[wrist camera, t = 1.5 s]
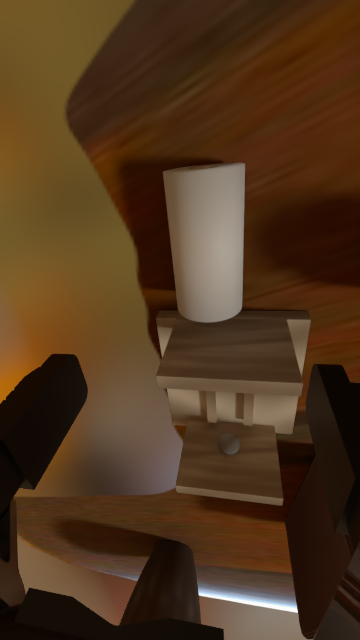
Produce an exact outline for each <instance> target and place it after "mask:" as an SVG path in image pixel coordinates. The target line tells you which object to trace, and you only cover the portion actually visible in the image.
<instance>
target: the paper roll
mask: <svg viewBox="0 0 360 640" xmlns="http://www.w3.org/2000/svg"><path fill="white" fill-rule="evenodd" d="M163 178H164V187H165V196H166V206H167V215H168V224H169V233H170V242H171V251H172V260H173V269H174V278H175V287H176V296H177V305H178V311H179V313H180V314H181V315H182V316H183V317H185V318H187V319H189V320H192V321H196V322H207V323H208V322H219V321H223V320H227V319H229V318H232V317H234V316H235V315H237V314H238V313H239V312H240V311H241V309H242V289H243V241H244V193H245V164H244V163H218V164H207V165H196V166H188V167H181V168H175V169H170V170H166V171H163Z"/></svg>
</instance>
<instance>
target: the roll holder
mask: <svg viewBox="0 0 360 640" xmlns="http://www.w3.org/2000/svg"><path fill="white" fill-rule="evenodd" d="M156 322H157V329H158V335H159V341H160V348H161V354H162V360H161V363H160V366H159V369H158V372H157V375H156V378H157V384H158V388H164V389H167V392H168V398H169V404H170V411H171V417H172V424H173V425H186V432H185V437H184V443H183V448H182V454H181V459H180V465H179V470H178V476H177V481H176V490H177V492H179V493H187V494H194V495H202V496H210V497H218V498H226V499H233V500H241V501H249V502H257V503H265V504H273V505H280V506H282V504H283V491H282V483H281V475H280V466H279V458H278V450H277V442H276V433H283V434H292V432H293V425H294V419H295V413H296V407H297V401H298V396H301V393H302V387H303V381H302V371H303V365H304V359H305V353H306V346H307V340H308V334H309V328H310V322H311V319H310V316H309V314H308V311H240V312H239V313H238V314H237V315H235V316H234V317H232V318H229V319H227V320H223V321H219V322H208V323H207V322H196V321H192V320H189V319H187V318H185V317H183V316H182V315H181V314H180V313H179V311H178V310H159V312H158V314H157V317H156Z"/></svg>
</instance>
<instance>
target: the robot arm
mask: <svg viewBox="0 0 360 640" xmlns="http://www.w3.org/2000/svg"><path fill="white" fill-rule="evenodd" d="M87 393H88V389H87V384H86V381H85V378H84V375H83V372H82V369H81V367H80V364H79V361H78V359H77V357H76V356H75V355H73V354H52V355H51V356H50V357H49V358H48V359H47V360H46V361H45V362H44V363H43V365H42V366H41V367H38V368H37V369H35V370H34V371H32V372H31V373H29V374H28V375H27V376H25V377H24V378H23V379H22V380H21V381H20V382H19V384H18V385H17V386H16V387H15V389H14V391H12V392H11V393H10V394H9V395H8V396H7V397H6V400H3V401H2V403H1V404H0V640H224V632H223V629H221V628H216V627H212V626H207V625H202V624H197V623H193V622H188V621H183V620H179V619H174V618H166V619H160V620H153V621H147V622H141V623H134V624H128V625H122V626H115V625H112V624H110V623H109V622H107V621H106V620H105V619H103V618H102V617H100V616H99V615H97V614H96V613H95V612H93V611H91V610H90V609H89V608H87V607H86V606H85V605H83V604H82V603H80V602H79V601H77V600H76V599H75V598H73V597H70V596H66V595H61V594H56V593H51V592H47V591H42V590H38V589H33V588H29V590H28V592H27V594H25V589H24V585H23V582H22V579H21V576H20V574H19V569H18V558H17V557H18V555H17V554H18V553H17V509H16V500H15V497H14V495H15V494H16V492H17V491H18V489H19V488H24V489H32V490H34V489H35V488H36V486H37V484H38V482H39V481H40V479H41V477H42V476H43V474H44V472H45V470H46V469H47V467H48V465H49V464H50V462H51V460H52V458H53V456H54V455H55V453H56V452H57V450H58V448H59V446H60V445H61V443H62V441H63V439H64V438H65V436H66V434H67V433H68V431H69V429H70V427H71V426H72V424H73V422H74V420H75V419H76V417H77V415H78V414H79V412H80V410H81V408H82V407H83V405H84V403H85V401H86V398H87ZM306 414H307V420H308V424H309V428H310V432H311V437H312V441H313V445H314V449H315V453H316V457H317V462H318V466H319V470H320V474H321V478H322V482H323V486H324V491H325V495H326V499H327V503H328V507H329V511H330V516H331V520H332V524H333V528H334V532H335V533H337V534H344V535H349V536H350V539H351V543H352V547H353V550H354V554H353V556H352V558H351V560H350V562H349V564H348V566H347V568H346V570H345V573H344V575H343V577H342V579H341V581H340V583H339V585H338V587H337V589H336V592H335V594H334V596H333V598H332V600H331V602H330V604H329V606H328V608H327V610H326V613H325V615H324V617H323V619H322V621H321V623H320V625H319V627H318V629H317V631H316V634H315V636H314V638H313V640H360V383H350V381H349V379H348V377H347V374H346V372H345V370H344V368H343V366H341V365H329V364H314V365H313V367H312V372H311V377H310V383H309V388H308V393H307V399H306Z"/></svg>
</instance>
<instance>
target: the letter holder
mask: <svg viewBox="0 0 360 640" xmlns="http://www.w3.org/2000/svg"><path fill="white" fill-rule="evenodd" d="M285 525H286V531H287V538H288V546H289V553H290V560H291V567H292V574H293V582H294V589H295V595H296V602H297V609H298V614H299V622H300V627H301V631H302V634H303V636H304V637H306V639H313V638H314V636H315V634H316V631H317V629H318V627H319V625H320V623H321V621H322V619H323V617H324V615H325V613H326V610H327V608H328V606H329V604H330V602H331V600H332V598H333V596H334V594H335V592H336V589H337V587H338V585H339V583H340V581H341V579H342V577H343V575H344V573H345V570H346V568H347V566H348V564H349V562H350V560H351V558H352V556H353V554H354V550H353V547H352V543H351V539H350V536H349V535H344V534H337V533H335V532H334V528H333V524H332V520H331V516H330V511H329V507H328V503H327V499H326V495H325V491H324V486H323V482H322V478H321V474H320V470H319V466H318V462H317V457H316V455H315V458H314V460H313V462H312V464H311V467H310V469H309V471H308V473H307V475H306V477H305V479H304V481H303V484H302V486H301V488H300V490H299V492H298V494H297V497H296V499H295V501H294V503H293V506H292V508H291V510H290V512H289V514H288V517H287V519H286V521H285Z"/></svg>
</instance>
